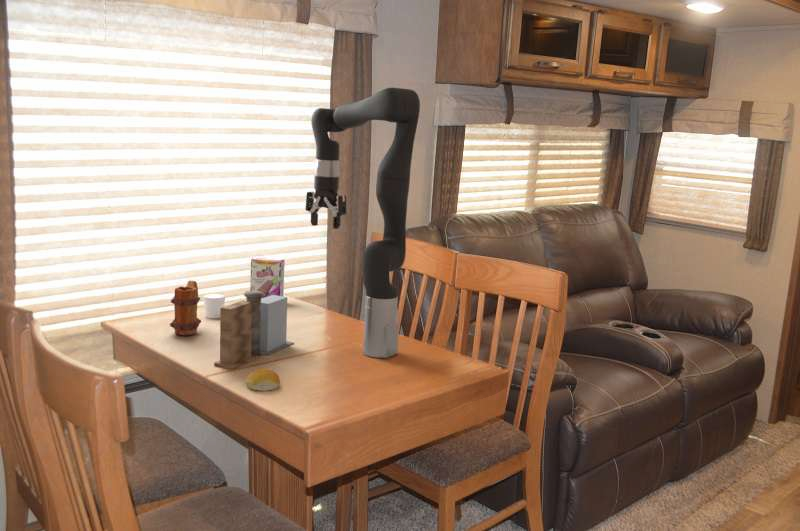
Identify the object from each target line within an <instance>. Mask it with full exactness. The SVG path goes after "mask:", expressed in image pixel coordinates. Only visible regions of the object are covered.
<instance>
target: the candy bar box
mask: <svg viewBox="0 0 800 531" xmlns="http://www.w3.org/2000/svg"><path fill="white" fill-rule="evenodd" d="M285 264H286V262H285V259H283V258H274V257H273V258H272V257H261V256H254V257H253V258H251V259H250V288H249V291H261V292H263V297H261V299H262V298H265V297H268V296H271V295H277V296H283V297H284V289H285Z"/></svg>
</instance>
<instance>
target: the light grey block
mask: <svg viewBox="0 0 800 531" xmlns="http://www.w3.org/2000/svg"><path fill="white" fill-rule="evenodd" d="M287 321H288V297H287V296H284V295H283V296H277V295H271V296H268V297H265V298H262V299H261V329H260V350H261V351H266V352H268V351H270V350H272V349H275V348H277V347H279V346H281V345H283V344H286V341H287V325H288V324H287V323H288V322H287Z"/></svg>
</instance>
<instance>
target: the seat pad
mask: <svg viewBox="0 0 800 531" xmlns="http://www.w3.org/2000/svg"><path fill="white" fill-rule="evenodd" d="M294 344H295V342H293V341H288V340H286V344H283V345H281V346H279V347H277V348H275V349H272V350H270V351H268V352H266V351H261V350H260V355H262V356H270V355H272V354H275V353H277V352H279V351H282V350H283V349H286V348H287V347H290V346H293V345H294Z"/></svg>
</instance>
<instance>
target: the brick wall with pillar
mask: <svg viewBox="0 0 800 531" xmlns="http://www.w3.org/2000/svg"><path fill="white" fill-rule="evenodd" d="M243 297H245V298H246V299H245V300H240V301H237V302H234V303H231V304H228V305H224V307H221V308H220V318H219V320H220V322H219V328H220V329H219V332H220V333H219V334H220V336H219V337H220V338H219V339H220V340H219V345H220V346H219V360H217V361H215V362H214V363H213V365H215V366H214V367H218V366H220V367H219V368H223V367H224V368H223V369H228V368H229V369H228V370H232V369H233V370H235V369H237V368H239V366H240V367H242V366H244V365H246V364H248V363H251V362H252V361H255V360H257V359H258V358H257V357H259V356H261V354H260V329H261V297H263V292H261V291H250V290H246V291H244V293H243ZM250 361H251V362H250ZM243 364H244V365H243ZM241 365H242V366H241ZM236 367H237V368H236ZM234 368H235V369H234Z"/></svg>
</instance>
